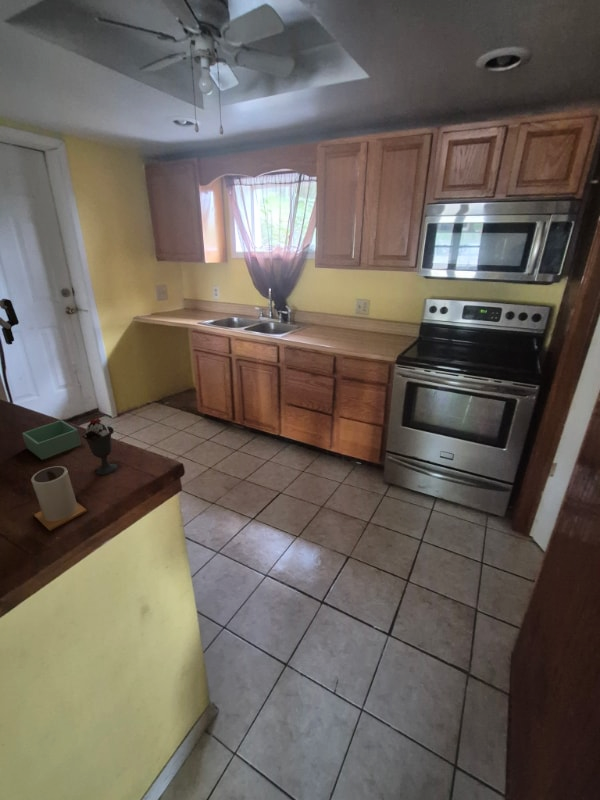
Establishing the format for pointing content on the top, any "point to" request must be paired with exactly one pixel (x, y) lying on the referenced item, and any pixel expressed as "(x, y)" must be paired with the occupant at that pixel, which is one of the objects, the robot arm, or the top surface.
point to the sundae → (100, 444)
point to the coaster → (52, 525)
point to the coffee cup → (54, 493)
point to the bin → (51, 439)
